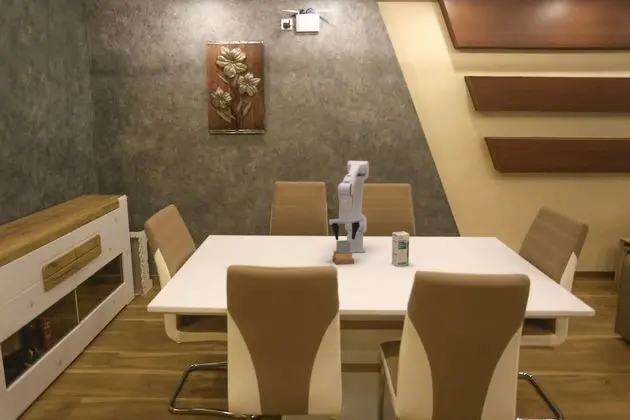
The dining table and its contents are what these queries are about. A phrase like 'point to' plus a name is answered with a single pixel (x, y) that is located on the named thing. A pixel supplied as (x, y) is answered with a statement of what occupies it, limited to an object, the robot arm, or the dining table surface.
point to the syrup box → (400, 248)
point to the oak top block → (342, 256)
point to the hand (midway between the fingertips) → (345, 239)
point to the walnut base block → (342, 261)
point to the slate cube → (343, 247)
